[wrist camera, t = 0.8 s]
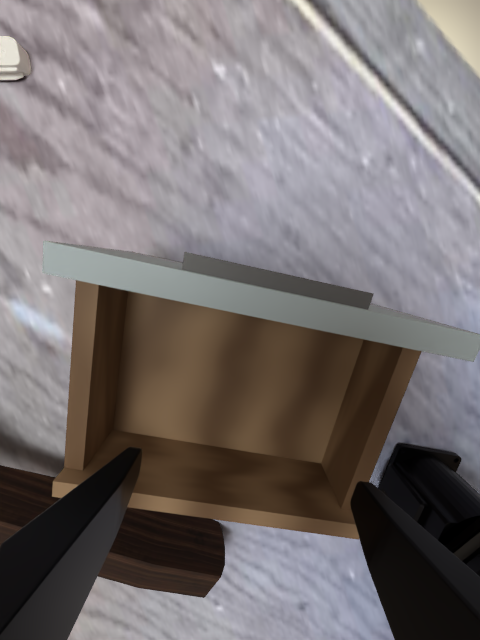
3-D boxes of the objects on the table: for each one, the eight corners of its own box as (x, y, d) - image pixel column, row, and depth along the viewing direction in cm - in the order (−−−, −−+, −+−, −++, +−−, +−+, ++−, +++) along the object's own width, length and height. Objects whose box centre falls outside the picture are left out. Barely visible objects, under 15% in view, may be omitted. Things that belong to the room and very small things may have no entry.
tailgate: (378, 295, 18) (492, 320, 10) (370, 320, 18) (473, 361, 10) (133, 241, 16) (44, 220, 9) (130, 269, 17) (42, 273, 9)
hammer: (225, 484, 28) (-80, 380, 20) (237, 628, 18) (-402, 532, 9) (204, 512, 29) (-96, 424, 21) (204, 666, 18) (-408, 607, 10)
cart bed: (368, 322, 20) (437, 351, 13) (322, 459, 23) (358, 539, 16) (125, 270, 19) (63, 273, 12) (108, 424, 22) (52, 496, 15)
